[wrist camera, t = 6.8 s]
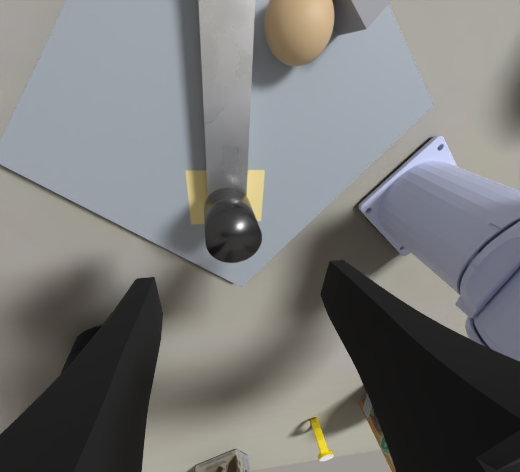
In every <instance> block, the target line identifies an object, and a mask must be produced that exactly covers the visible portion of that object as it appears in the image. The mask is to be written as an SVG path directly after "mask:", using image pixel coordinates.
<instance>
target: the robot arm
mask: <svg viewBox="0 0 520 472" xmlns="http://www.w3.org/2000/svg"><path fill="white" fill-rule="evenodd" d="M439 145H440V146H439ZM438 146H439V147H438ZM437 148H438V149H437ZM368 208H369V209H368ZM367 209H368V210H367ZM359 210H360V211H361V212H362V213H363V214H364V215H365V216H366V217H367V219H368V220H369V221H370V222H371V223H372V224H373V225H374V226H375V227H376V228H377V229H378V230H379V231H380V233H381V234H382V235H383V236H384V237H385V238H386V239H387V240H388V241H389V242H390V243H391V244H392V245H393V247H394V248H395V249H396V250H397V251H398V252H399V253H400V254H401V255H402V256H406V255H408V254H409V253H410V252H411V253H412V254H413V255H415V256H416V257H417V258H418V259H419V260H420V261H422V262H423V263H424V264H425V265H426V266H427V267H428V268H430V269H431V270H432V271H433V272H434V273H435V274H437V275H438V276H439V277H440V278H441V279H442V280H444V281H445V282H446V283H447V284H448V285H449V286H450V287H452V288H453V289H454V290H455V291H456V292H457V293H459V294H460V297H459V299H458V301H457V302H456V305H457V306H458V307H459V308H460V309H461V310H462V311H463V312H464V313H465V314H466V315H468V318H467V320H466V324H465V328H466V332H467V335H468V337H469V338H467V337H465V336H463V335H460V334H458V333H457V332H455V331H453V330H451V329H449V328H447V327H445V326H443V325H441V324H440V323H438V322H436V321H434V320H432V319H431V318H429V317H427V316H425V315H424V314H422V313H420V312H419V311H417V310H415V309H414V308H412V307H411V306H409V305H407V304H406V303H404V302H403V301H401V300H400V299H398V298H397V297H395V296H394V295H392V294H391V293H389V292H388V291H386V290H385V289H383V288H382V287H380V286H379V285H378V284H376V283H375V282H373V281H372V280H370V279H369V278H368V277H366V276H365V275H363V274H362V273H361V272H359V271H358V270H356V269H355V268H354V267H352V266H351V265H349V264H348V263H346V262H345V261H343V260H338V261H330V262H329V266H328V269H327V273H326V276H325V280H324V283H323V287H322V290H321V297H322V300H323V303H324V306H325V308H326V311H327V313H328V316H329V318H330V320H331V322H332V323H333V325H334V327H335V329H336V331H337V333H338V335H339V337H340V339H341V340H342V342H343V344H344V346H345V348H346V350H347V352H348V353H349V355H350V357H351V359H352V361H353V363H354V365H355V367H356V369H357V371H358V373H359V375H360V378H361V380H362V382H363V385H364V387H365V389H366V392H367V394H368V397H369V399H370V402H371V404H372V407H373V409H374V412H375V414H376V417H377V419H378V422H379V425H380V427H381V430H382V433H383V436H384V438H385V441H386V444H387V447H388V449H389V452H390V455H391V458H392V461H393V464H394V467H395V470H396V472H520V191H519V190H516V189H514V188H511V187H508V186H506V185H503V184H501V183H498V182H495V181H493V180H490V179H487V178H485V177H482V176H480V175H477V174H474V173H472V172H469V171H467V170H464V169H461V168H459V167H457V165H456V163H455V161H454V159H453V157H452V154H451V152H450V150H449V148H448V146H447V144H446V142H445V140H444V138H443V137H442V136H438V135H437V136H434V137H433V138H432V139H431V140H430V141H428V142H427V143H426V144H425V145H424V146H423V147H422V148H421V149H420V150H418V151H417V152H416V153H415V154H414V155H413V156H412V157H411V158H410V159H408V160H407V161H406V162H405V163H404V164H403V165H402V166H401V167H400V168H399V169H397V170H396V171H395V172H394V173H393V174H392V175H391V176H390V177H389V178H387V179H386V180H385V181H384V182H383V183H382V184H381V185H380V186H379V187H378V188H376V189H375V190H374V191H373V192H372V193H371V194H370V195H369V196H368V197H366V198H365V199H364V200H363V201H362V202H361V203H360V204H359ZM366 210H367V211H366ZM162 317H163V312H162V308H161V303H160V299H159V295H158V291H157V286H156V282H155V278H154V277H150V278H139V279H136V280H135V281H134V283H133V284H132V286H131V287H130V289H129V290H128V291H127V293H126V294H125V296H124V297H123V299H122V300H121V301H120V303H119V304H118V306H117V307H116V308H115V310H114V311H113V312H112V314H111V315H110V316H109V318H108V319H107V320H106V322H105V323H104V324H103V325H102V327H101V328H100V329H99V331H98V332H97V333H96V334H95V336H94V337H93V338H92V339H91V340H90V342H89V343H88V344H87V345H86V346H85V348H84V349H83V350H82V351H81V352H80V354H79V355H78V356H77V357H76V358H75V359H74V360H73V362H72V363H71V364H70V365H69V366H68V367H67V368H66V369H65V370H64V371H63V373H62V374H61V375H60V376H59V377H58V378H57V379H56V380H55V381H54V382H53V383H52V384H51V385H50V386H49V387H48V388H47V389H46V390H45V392H44V393H43V394H42V395H41V396H40V397H38V398H37V399H36V400H35V401H34V402H33V403H32V404H31V405H30V406H29V407H28V408H27V409H26V410H25V411H24V412H23V413H22V414H21V415H20V416H19V417H18V418H17V419H16V420H15V421H14V422H13V423H12V424H11V425H10V426H9V427H8V428H7V429H6V430H5V431H3V432H2V433H1V434H0V472H142V460H143V449H144V439H145V429H146V419H147V412H148V405H149V399H150V394H151V389H152V383H153V378H154V373H155V368H156V363H157V357H158V352H159V347H160V341H161V331H162Z"/></svg>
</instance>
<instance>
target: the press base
mask: <svg viewBox="0 0 520 472" xmlns="http://www.w3.org/2000/svg"><path fill="white" fill-rule="evenodd" d="M391 1H392V0H255V17H254V39H253V62H252V84H251V107H250V129H249V151H248V174H247V198H248V199H249V202H250V204H251V207H252V209H253V212H254V214H255V217H256V219H257V222H258V225H259V227H260V230H261V233H262V243H261V245H260V248H259V249H258V251H257V252H256V253H255V254H254V255H253V256H251V257H250V258H248V259H247V260H244V261H241V262H237V263H226V262H222V261H219V260H217V259H215V258H214V257H212V256H211V255H210V253H209V252H208V250H207V248H206V244H205V225H204V204H205V201H206V199H207V198H208V194H207V173H206V153H205V133H204V112H203V92H202V71H201V51H200V31H199V10H198V0H66V2H65V4H64V6H63V8H62V11H61V13H60V15H59V17H58V19H57V21H56V23H55V25H54V28H53V30H52V32H51V34H50V36H49V38H48V40H47V42H46V45H45V47H44V49H43V51H42V53H41V55H40V57H39V59H38V62H37V64H36V66H35V68H34V70H33V72H32V74H31V76H30V79H29V81H28V83H27V85H26V87H25V89H24V91H23V93H22V96H21V98H20V100H19V102H18V104H17V106H16V108H15V110H14V113H13V115H12V117H11V119H10V121H9V123H8V125H7V127H6V130H5V132H4V134H3V136H2V138H1V140H0V165H2V166H4V167H6V168H8V169H10V170H12V171H14V172H16V173H18V174H20V175H22V176H24V177H26V178H28V179H30V180H32V181H34V182H36V183H38V184H40V185H42V186H44V187H45V188H47V189H49V190H51V191H53V192H55V193H57V194H59V195H61V196H63V197H65V198H67V199H69V200H71V201H73V202H75V203H77V204H79V205H81V206H83V207H85V208H87V209H89V210H91V211H93V212H95V213H97V214H98V215H100V216H102V217H104V218H106V219H108V220H110V221H112V222H114V223H116V224H118V225H120V226H122V227H124V228H126V229H128V230H130V231H132V232H134V233H136V234H138V235H140V236H142V237H144V238H146V239H148V240H150V241H152V242H153V243H155V244H157V245H159V246H161V247H163V248H165V249H167V250H169V251H171V252H173V253H175V254H177V255H179V256H181V257H183V258H185V259H187V260H189V261H191V262H193V263H195V264H197V265H199V266H201V267H203V268H205V269H206V270H208V271H210V272H212V273H214V274H216V275H218V276H220V277H222V278H224V279H226V280H228V281H230V282H232V283H234V284H236V285H238V286H240V287H242V286H243V285H244V284H245V283H246V282H247V281H248V280H249V279H250V278H251V277H252V276H254V275H255V274H256V273H257V272H258V271H259V270H260V269H261V268H262V267H263V266H264V265H265V264H266V263H267V262H268V261H269V260H270V259H272V258H273V257H274V256H275V255H276V254H277V253H278V252H279V251H280V250H281V249H282V248H283V247H284V246H285V245H286V244H287V243H288V242H289V241H291V240H292V239H293V238H294V237H295V236H296V235H297V234H298V233H299V232H300V231H301V230H302V229H303V228H304V227H305V226H306V225H307V224H309V223H310V222H311V221H312V220H313V219H314V218H315V217H316V216H317V215H318V214H319V213H320V212H321V211H322V210H323V209H324V208H325V207H327V206H328V205H329V204H330V203H331V202H332V201H333V200H334V199H335V198H336V197H337V196H338V195H339V194H340V193H341V192H342V191H343V190H344V189H346V188H347V187H348V186H349V185H350V184H351V183H352V182H353V181H354V180H355V179H356V178H357V177H358V176H359V175H360V174H361V173H362V172H364V171H365V170H366V169H367V168H368V167H369V166H370V165H371V164H372V163H373V162H374V161H375V160H376V159H377V158H378V157H379V156H380V155H381V154H383V153H384V152H385V151H386V150H387V149H388V148H389V147H390V146H391V145H392V144H393V143H394V142H395V141H396V140H397V139H398V138H399V137H401V136H402V135H403V134H404V133H405V132H406V131H407V130H408V129H409V128H410V127H411V126H412V125H413V124H414V123H415V122H416V121H417V120H419V119H420V118H421V117H422V116H423V115H424V114H425V113H426V112H427V111H428V110H429V109H430V108H431V107H432V106H433V105H434V102H433V100H432V98H431V96H430V94H429V91H428V89H427V87H426V85H425V83H424V80H423V78H422V76H421V74H420V72H419V69H418V67H417V65H416V63H415V61H414V59H413V56H412V54H411V52H410V50H409V48H408V45H407V43H406V41H405V39H404V37H403V34H402V32H401V30H400V28H399V26H398V23H397V21H396V19H395V17H394V15H393V13H392V10H391V8H390V6H389V3H390V2H391Z"/></svg>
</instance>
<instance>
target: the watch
mask: <svg viewBox="0 0 520 472" xmlns="http://www.w3.org/2000/svg"><path fill="white" fill-rule="evenodd" d="M310 421H311V424H312V428H313V431H314V434H315V437H316V440H317V443H318V446H319V449H320V454H319V455H318V459H319V461H326V460H329V459H331V458H332V457H333V456H334V455H333V452H332V451H331V450H328V448H327V445H326V442H325V439H324V436H323V433H322V430H321V427H320V424H319V422H318V419H317V417H316V418H313V419H310Z"/></svg>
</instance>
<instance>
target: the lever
mask: <svg viewBox="0 0 520 472" xmlns="http://www.w3.org/2000/svg"><path fill="white" fill-rule="evenodd" d="M198 10H199V31H200V51H201V71H202V92H203V112H204V133H205V153H206V173H207V194H208V198H207V199H206V201H205V204H204V225H205V244H206V248H207V250H208V252H209V253H210V255H211V256H212V257H214V258H215V259H217V260H219V261H222V262H226V263H237V262H241V261H244V260H247V259H248V258H250V257H251V256H253V255H254V254H255V253H256V252H257V251H258V249H259V248H260V245H261V243H262V233H261V230H260V227H259V225H258V222H257V219H256V217H255V214H254V212H253V209H252V207H251V204H250V202H249V199H248V198H247V174H248V151H249V129H250V107H251V84H252V62H253V39H254V17H255V0H198Z"/></svg>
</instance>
